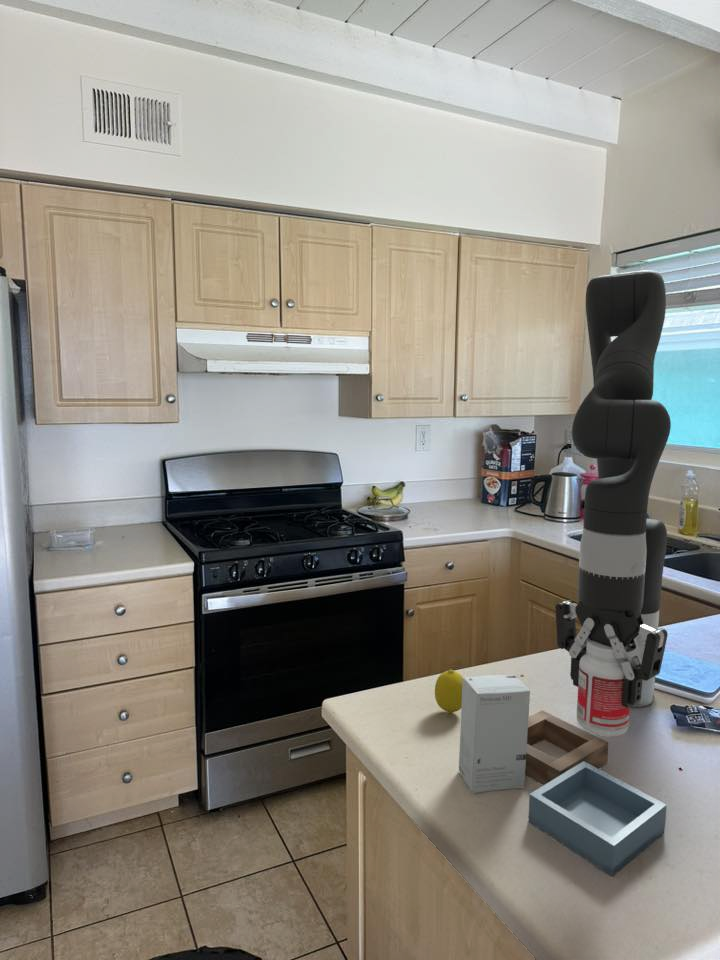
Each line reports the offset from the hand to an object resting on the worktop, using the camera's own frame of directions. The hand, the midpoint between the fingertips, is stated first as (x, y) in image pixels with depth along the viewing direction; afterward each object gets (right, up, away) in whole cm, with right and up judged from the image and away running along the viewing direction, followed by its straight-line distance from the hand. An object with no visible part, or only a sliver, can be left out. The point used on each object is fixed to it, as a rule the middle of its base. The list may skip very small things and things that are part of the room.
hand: (603, 694), depth 82 cm
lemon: (-15, -14, +31) cm, 37 cm away
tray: (0, -18, +3) cm, 18 cm away
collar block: (-2, -16, +18) cm, 24 cm away
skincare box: (-11, -17, +13) cm, 24 cm away
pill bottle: (0, -4, +1) cm, 4 cm away
